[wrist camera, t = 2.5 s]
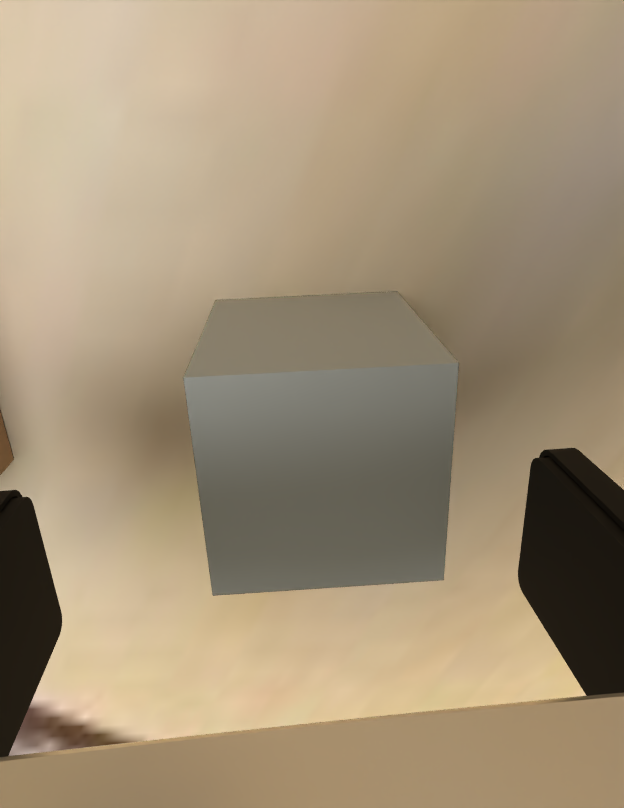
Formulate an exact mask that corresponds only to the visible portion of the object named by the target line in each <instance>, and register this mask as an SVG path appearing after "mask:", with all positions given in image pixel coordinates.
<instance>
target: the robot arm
mask: <svg viewBox="0 0 624 808" xmlns="http://www.w3.org/2000/svg"><path fill="white" fill-rule="evenodd" d="M518 580H519V584H520V588H521V590H522V592H523V594H524V596H525V597H526V599H527V600H528V602H529V604H530V605H531V607H532V608H533V610H534V612H535V613H536V615H537V616H538V618H539V620H540V621H541V623H542V625H543V626H544V628H545V629H546V631H547V633H548V634H549V636H550V637H551V639H552V641H553V642H554V644H555V645H556V647H557V649H558V650H559V652H560V654H561V655H562V657H563V658H564V660H565V662H566V663H567V665H568V666H569V668H570V670H571V671H572V673H573V674H574V676H575V678H576V679H577V681H578V682H579V684H580V686H581V687H582V689H583V691H584V692H585V694H586V695H587V696H579V697H569V698H559V699H549V700H538V701H528V702H518V703H508V704H498V705H487V706H477V707H467V708H457V709H447V710H436V711H426V712H416V713H406V714H397V715H387V716H377V717H367V718H358V719H348V720H338V721H329V722H319V723H309V724H300V725H290V726H281V727H271V728H262V729H252V730H243V731H233V732H224V733H214V734H205V735H196V736H187V737H178V738H169V739H160V740H151V741H142V742H132V743H123V744H114V745H105V746H96V747H87V748H78V749H69V750H60V751H51V752H42V753H33V754H24V755H15V756H8V755H9V753H10V750H11V748H12V746H13V743H14V741H15V739H16V736H17V734H18V731H19V729H20V727H21V724H22V722H23V720H24V717H25V715H26V713H27V710H28V708H29V706H30V703H31V701H32V699H33V696H34V694H35V692H36V689H37V687H38V685H39V682H40V680H41V677H42V675H43V673H44V670H45V668H46V666H47V663H48V661H49V659H50V656H51V654H52V652H53V649H54V647H55V645H56V642H57V640H58V638H59V635H60V632H61V627H62V614H61V610H60V606H59V602H58V598H57V594H56V590H55V587H54V583H53V579H52V575H51V571H50V567H49V563H48V560H47V556H46V552H45V548H44V544H43V540H42V537H41V533H40V529H39V525H38V521H37V517H36V514H35V510H34V506H33V503H32V501H31V499H30V498H28V497H22V495H21V494H20V492H19V491H17V490H9V491H0V808H624V490H623V489H622V488H621V487H620V486H618V485H617V484H616V483H615V482H614V481H613V480H612V479H611V478H609V477H608V476H607V475H606V474H605V473H604V472H603V471H601V470H600V469H599V468H598V467H597V466H596V465H595V464H594V463H592V462H591V461H590V460H589V459H588V458H587V457H586V456H584V455H583V454H582V453H581V452H580V451H579V450H577V449H576V448H565V449H552V450H544V451H543V452H542V453H541V454H540V457H539V458H535V459H533V461H532V463H531V469H530V477H529V485H528V494H527V502H526V510H525V518H524V527H523V535H522V543H521V552H520V560H519V568H518Z"/></svg>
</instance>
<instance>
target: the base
mask: <svg viewBox="0 0 624 808" xmlns="http://www.w3.org/2000/svg"><path fill="white" fill-rule="evenodd" d="M13 460H14V459H13V455H12V451H11V448H10V444H9V441H8V437H7V434H6V430H5V426H4V423H3V419H2V416H1V412H0V475H1V474H2V473H3V471H4V470H5V469H6V468H7V467H8V466H9V464H10V463H11V462H12V461H13Z"/></svg>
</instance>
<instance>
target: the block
mask: <svg viewBox="0 0 624 808" xmlns="http://www.w3.org/2000/svg"><path fill="white" fill-rule="evenodd" d="M458 368H459V363H458V361H457V360H456V359H455V358H454V357H453V356H452V354H451V353H450V352H449V351H448V350H447V349H446V348H445V346H444V345H443V344H442V343H441V342H440V341H439V339H438V338H437V337H436V336H435V335H434V334H433V332H432V331H431V330H430V329H429V328H428V327H427V326H426V324H425V323H424V322H423V321H422V320H421V319H420V317H419V316H418V315H417V314H416V313H415V312H414V310H413V309H412V308H411V307H410V306H409V305H408V303H407V302H406V301H405V300H404V299H403V298H402V297H401V295H400V294H399V293H398V292H397V291H391V292H371V293H350V294H330V295H309V296H289V297H268V298H248V299H227V300H216V301H215V303H214V305H213V308H212V310H211V313H210V315H209V317H208V320H207V322H206V325H205V327H204V329H203V332H202V334H201V337H200V339H199V341H198V344H197V346H196V349H195V351H194V353H193V356H192V358H191V361H190V363H189V365H188V368H187V370H186V373H185V375H184V377H183V378H184V386H185V393H186V401H187V408H188V416H189V423H190V430H191V438H192V445H193V453H194V460H195V468H196V475H197V483H198V490H199V497H200V505H201V512H202V520H203V527H204V535H205V542H206V549H207V557H208V564H209V572H210V579H211V587H212V594H213V596H215V595H230V594H245V593H260V592H274V591H289V590H304V589H319V588H334V587H349V586H364V585H379V584H394V583H409V582H424V581H439V580H444V569H445V555H446V540H447V526H448V512H449V497H450V483H451V469H452V454H453V440H454V426H455V411H456V397H457V383H458Z"/></svg>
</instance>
